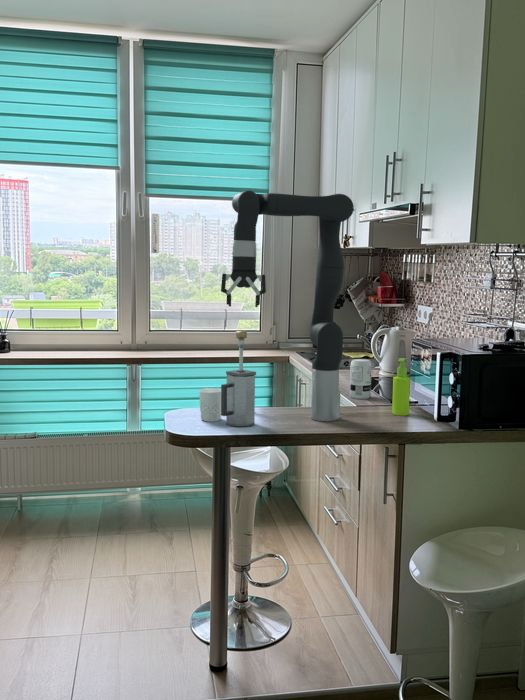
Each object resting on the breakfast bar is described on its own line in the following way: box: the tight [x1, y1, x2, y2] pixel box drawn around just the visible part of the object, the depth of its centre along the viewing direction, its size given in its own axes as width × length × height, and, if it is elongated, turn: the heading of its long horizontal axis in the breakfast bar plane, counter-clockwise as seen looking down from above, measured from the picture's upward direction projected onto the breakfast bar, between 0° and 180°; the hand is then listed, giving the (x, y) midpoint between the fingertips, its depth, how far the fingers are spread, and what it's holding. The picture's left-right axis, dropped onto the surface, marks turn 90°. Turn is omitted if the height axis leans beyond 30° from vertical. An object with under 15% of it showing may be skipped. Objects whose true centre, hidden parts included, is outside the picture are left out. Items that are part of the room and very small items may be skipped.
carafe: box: [220, 369, 257, 429], centre depth 217 cm, size 14×9×18 cm
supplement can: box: [349, 358, 373, 400], centre depth 266 cm, size 8×8×15 cm
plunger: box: [235, 330, 248, 372], centre depth 216 cm, size 4×4×20 cm
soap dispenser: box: [391, 357, 411, 417], centre depth 236 cm, size 6×7×20 cm
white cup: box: [198, 387, 222, 422], centre depth 225 cm, size 8×8×10 cm
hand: (243, 306), depth 214 cm, fingers open, 8 cm apart
